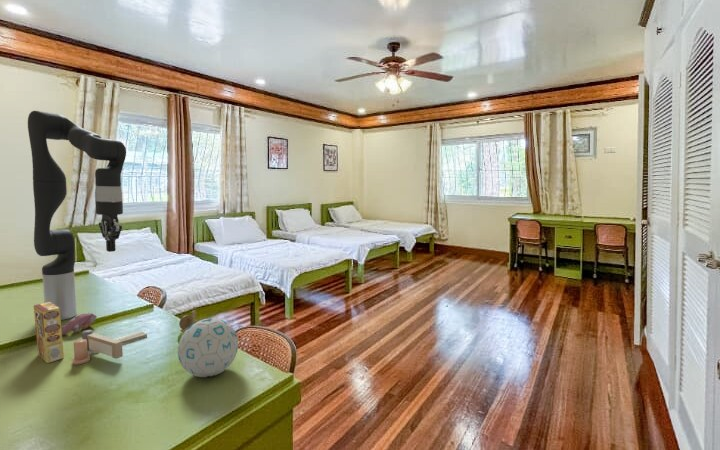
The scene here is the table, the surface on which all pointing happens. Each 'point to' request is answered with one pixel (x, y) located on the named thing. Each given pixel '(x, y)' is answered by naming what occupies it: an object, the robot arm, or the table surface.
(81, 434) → the table surface
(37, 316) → the candy box
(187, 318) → the snail figurine
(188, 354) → the puzzle ball
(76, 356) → the peach rounded knob
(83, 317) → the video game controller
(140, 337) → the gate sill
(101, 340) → the beige wooden bar
